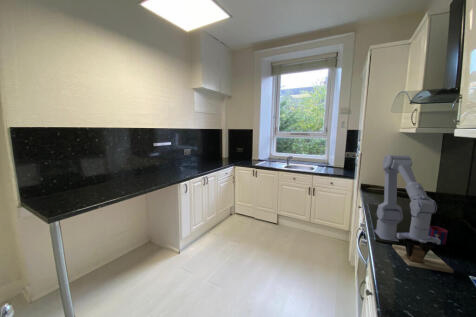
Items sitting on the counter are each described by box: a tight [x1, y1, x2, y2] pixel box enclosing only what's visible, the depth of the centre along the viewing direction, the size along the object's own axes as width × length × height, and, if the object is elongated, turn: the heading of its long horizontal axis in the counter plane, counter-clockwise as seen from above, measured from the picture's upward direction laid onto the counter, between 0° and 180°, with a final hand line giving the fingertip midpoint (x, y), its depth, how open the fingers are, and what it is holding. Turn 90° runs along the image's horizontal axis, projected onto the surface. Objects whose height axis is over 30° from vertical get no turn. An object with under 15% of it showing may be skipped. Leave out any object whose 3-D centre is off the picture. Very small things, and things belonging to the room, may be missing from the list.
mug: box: [428, 225, 449, 246], centre depth 101 cm, size 7×10×7 cm
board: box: [391, 244, 454, 274], centre depth 86 cm, size 14×15×2 cm
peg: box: [406, 245, 425, 263], centre depth 84 cm, size 4×4×6 cm
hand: (414, 256), depth 84 cm, fingers closed on peg, 4 cm apart
